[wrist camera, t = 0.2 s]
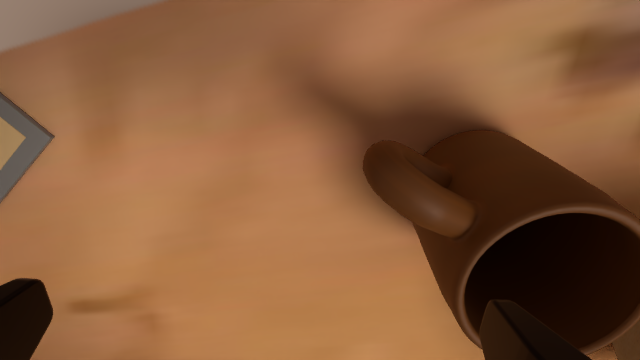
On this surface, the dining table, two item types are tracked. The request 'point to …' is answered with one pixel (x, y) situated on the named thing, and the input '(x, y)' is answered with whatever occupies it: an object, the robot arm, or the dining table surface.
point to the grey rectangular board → (18, 144)
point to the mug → (516, 234)
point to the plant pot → (628, 344)
